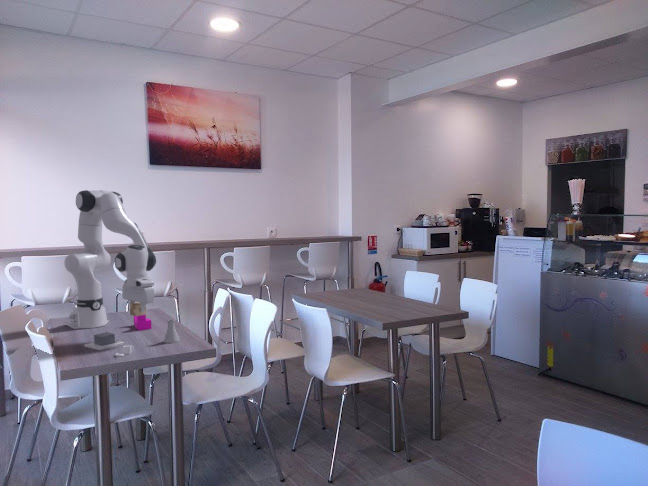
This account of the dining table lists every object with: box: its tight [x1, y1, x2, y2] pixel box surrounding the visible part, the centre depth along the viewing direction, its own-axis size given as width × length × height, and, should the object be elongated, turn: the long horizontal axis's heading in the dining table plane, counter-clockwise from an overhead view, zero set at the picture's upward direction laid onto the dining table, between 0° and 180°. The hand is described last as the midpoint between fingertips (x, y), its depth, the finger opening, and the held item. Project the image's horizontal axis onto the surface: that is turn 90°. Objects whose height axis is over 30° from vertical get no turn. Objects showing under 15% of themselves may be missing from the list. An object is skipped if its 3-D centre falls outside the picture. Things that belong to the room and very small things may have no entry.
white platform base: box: [83, 331, 126, 351], centre depth 225 cm, size 12×12×5 cm
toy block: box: [133, 314, 153, 331], centre depth 261 cm, size 15×6×8 cm, turn 28°
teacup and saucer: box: [114, 344, 135, 358], centre depth 210 cm, size 9×8×4 cm
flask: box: [163, 319, 181, 344], centre depth 229 cm, size 7×7×10 cm
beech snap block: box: [129, 302, 147, 317], centre depth 236 cm, size 5×5×5 cm
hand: (138, 310), depth 236 cm, fingers closed on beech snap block, 5 cm apart
